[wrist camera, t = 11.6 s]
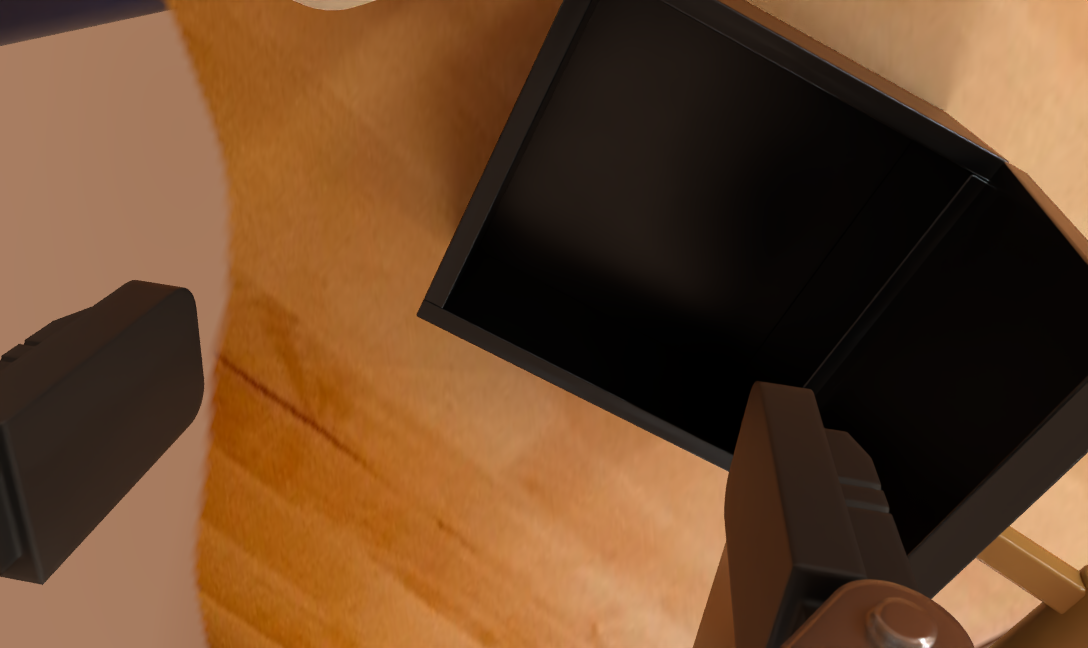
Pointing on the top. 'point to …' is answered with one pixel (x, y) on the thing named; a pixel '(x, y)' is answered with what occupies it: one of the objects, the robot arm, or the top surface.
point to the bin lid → (973, 406)
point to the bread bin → (697, 213)
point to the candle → (333, 4)
